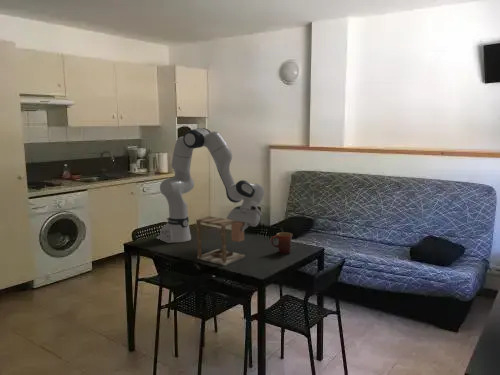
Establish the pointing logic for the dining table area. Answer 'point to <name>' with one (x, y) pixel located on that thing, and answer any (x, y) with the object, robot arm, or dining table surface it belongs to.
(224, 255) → the dock
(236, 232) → the block
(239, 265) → the dining table surface
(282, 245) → the mug
